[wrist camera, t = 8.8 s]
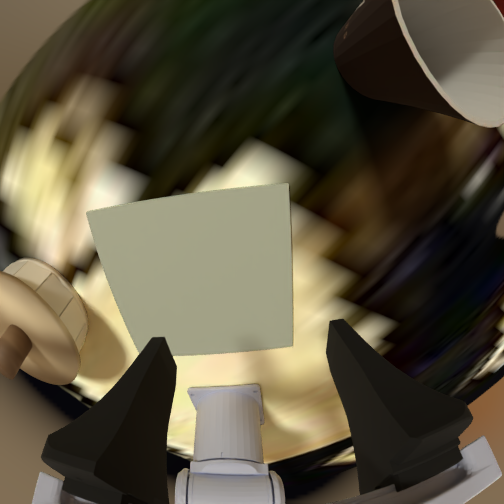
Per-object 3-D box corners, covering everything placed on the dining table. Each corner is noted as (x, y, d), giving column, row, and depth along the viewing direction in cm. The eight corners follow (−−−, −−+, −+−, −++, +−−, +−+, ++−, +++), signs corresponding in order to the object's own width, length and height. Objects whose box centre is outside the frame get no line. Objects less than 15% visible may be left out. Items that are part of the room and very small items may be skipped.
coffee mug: (341, 126, 17) (433, 140, 8) (298, 15, 13) (351, -59, 4) (456, 102, 15) (550, 117, 7) (425, 9, 12) (508, -15, 3)
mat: (292, 344, 25) (292, 346, 25) (141, 353, 25) (140, 355, 25) (287, 183, 18) (288, 184, 18) (87, 211, 18) (85, 212, 18)
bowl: (104, 346, 25) (90, 378, 21) (36, 341, 25) (21, 367, 21) (62, 251, 20) (34, 279, 16) (-4, 262, 20) (-28, 284, 16)
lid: (103, 385, 21) (89, 425, 17) (20, 371, 21) (4, 400, 17) (37, 264, 15) (0, 303, 11) (-36, 275, 15) (-63, 301, 11)
